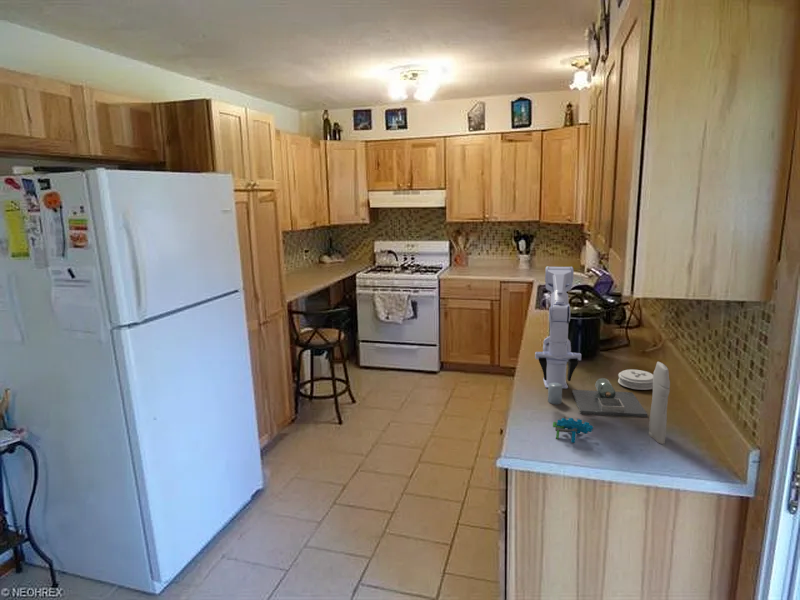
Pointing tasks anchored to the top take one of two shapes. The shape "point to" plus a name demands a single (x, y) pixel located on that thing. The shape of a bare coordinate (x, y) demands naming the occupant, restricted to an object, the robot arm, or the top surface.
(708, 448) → the top surface
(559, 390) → the grey rounded capsule
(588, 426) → the teal bumpy piece
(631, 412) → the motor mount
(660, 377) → the tall pale column
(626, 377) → the lid
